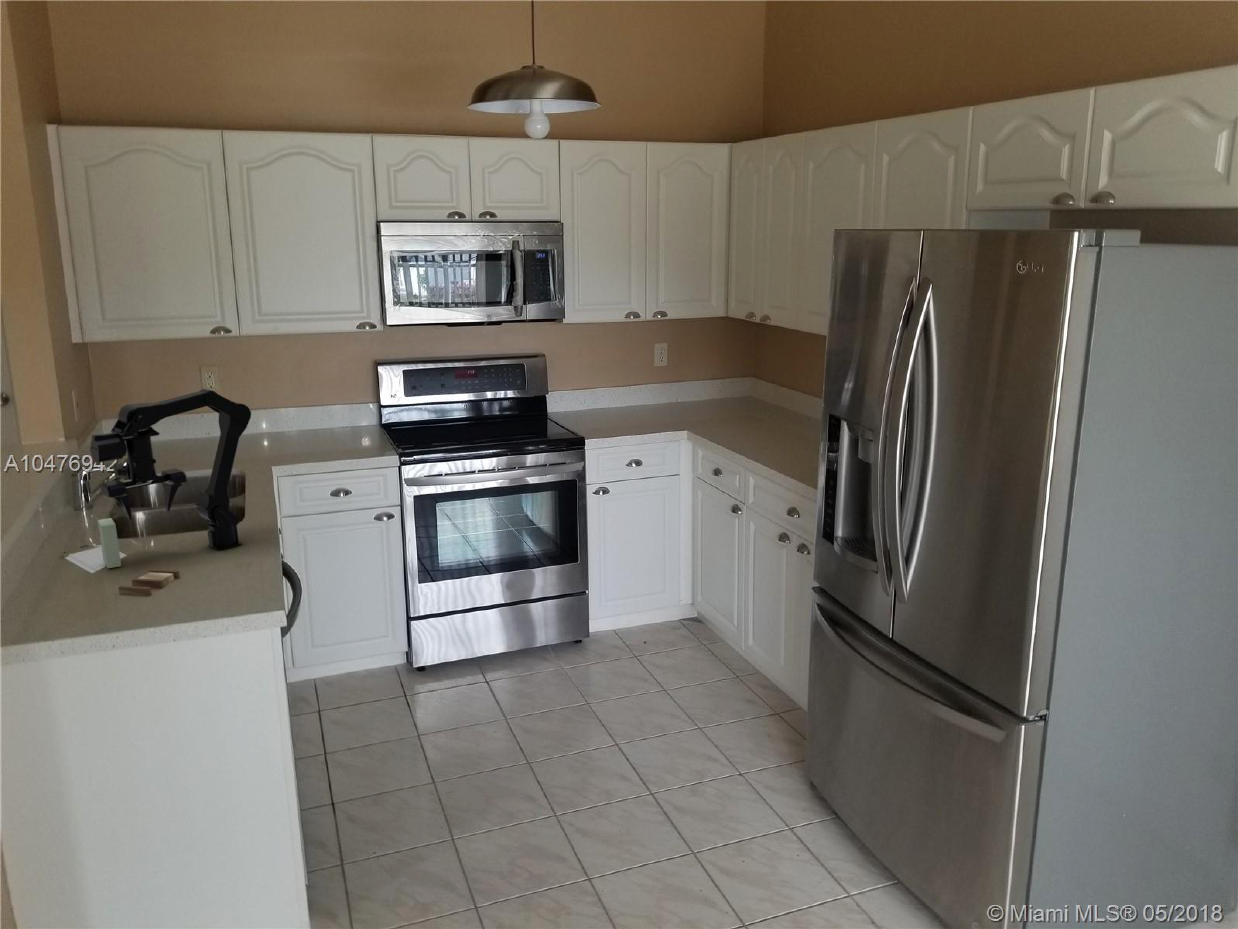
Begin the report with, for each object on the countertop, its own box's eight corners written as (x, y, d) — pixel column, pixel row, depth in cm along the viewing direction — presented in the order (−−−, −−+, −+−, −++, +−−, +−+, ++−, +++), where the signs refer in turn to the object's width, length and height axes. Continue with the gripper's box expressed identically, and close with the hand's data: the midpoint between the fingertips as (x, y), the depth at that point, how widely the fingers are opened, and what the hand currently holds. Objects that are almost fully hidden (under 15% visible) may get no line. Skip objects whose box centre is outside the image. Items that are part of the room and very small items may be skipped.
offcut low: (150, 578, 224) (149, 575, 224) (174, 579, 223) (173, 576, 223) (139, 584, 220) (138, 581, 220) (163, 586, 219) (163, 582, 219)
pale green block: (116, 558, 237) (110, 517, 234) (121, 565, 232) (115, 524, 229) (103, 561, 235) (97, 520, 233) (107, 568, 230) (101, 526, 228)
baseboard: (108, 591, 221) (159, 576, 230) (107, 579, 220) (157, 565, 229) (58, 562, 240) (107, 550, 249) (57, 552, 240) (105, 540, 249)
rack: (152, 579, 226) (150, 569, 225) (180, 580, 225) (179, 570, 224) (119, 597, 215) (118, 587, 214) (149, 599, 214) (147, 588, 213)
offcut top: (149, 575, 224) (149, 572, 224) (173, 576, 223) (173, 573, 223) (138, 581, 220) (138, 578, 220) (163, 582, 219) (162, 579, 219)
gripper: (165, 443, 241) (173, 501, 245) (87, 457, 228) (97, 517, 232) (183, 450, 234) (191, 509, 238) (104, 464, 221) (114, 526, 225)
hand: (149, 515), depth 233 cm, fingers open, 9 cm apart
